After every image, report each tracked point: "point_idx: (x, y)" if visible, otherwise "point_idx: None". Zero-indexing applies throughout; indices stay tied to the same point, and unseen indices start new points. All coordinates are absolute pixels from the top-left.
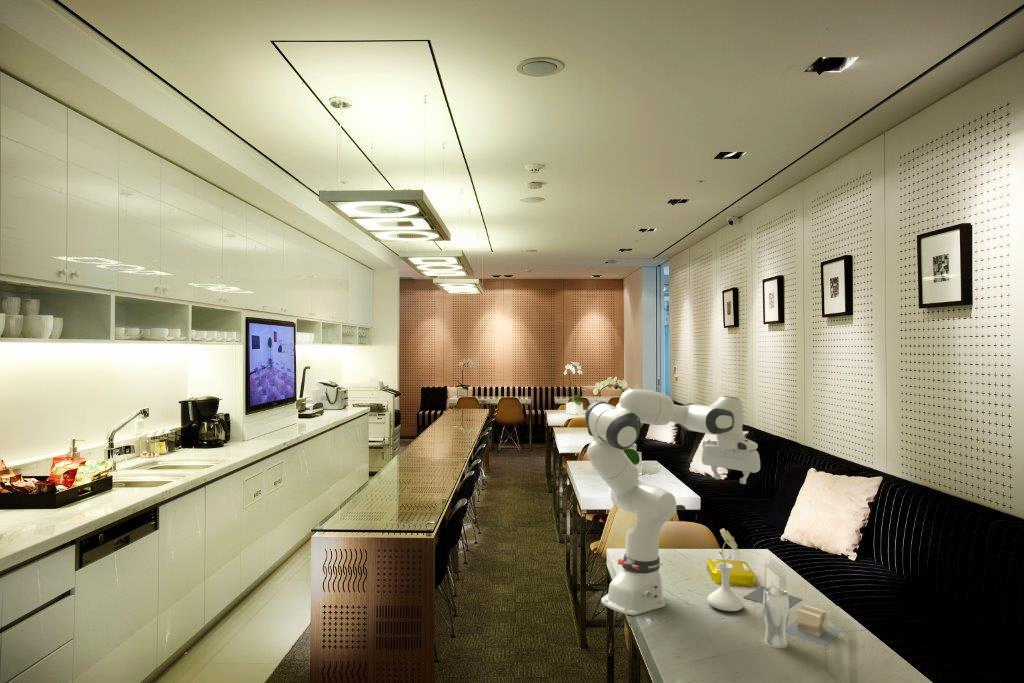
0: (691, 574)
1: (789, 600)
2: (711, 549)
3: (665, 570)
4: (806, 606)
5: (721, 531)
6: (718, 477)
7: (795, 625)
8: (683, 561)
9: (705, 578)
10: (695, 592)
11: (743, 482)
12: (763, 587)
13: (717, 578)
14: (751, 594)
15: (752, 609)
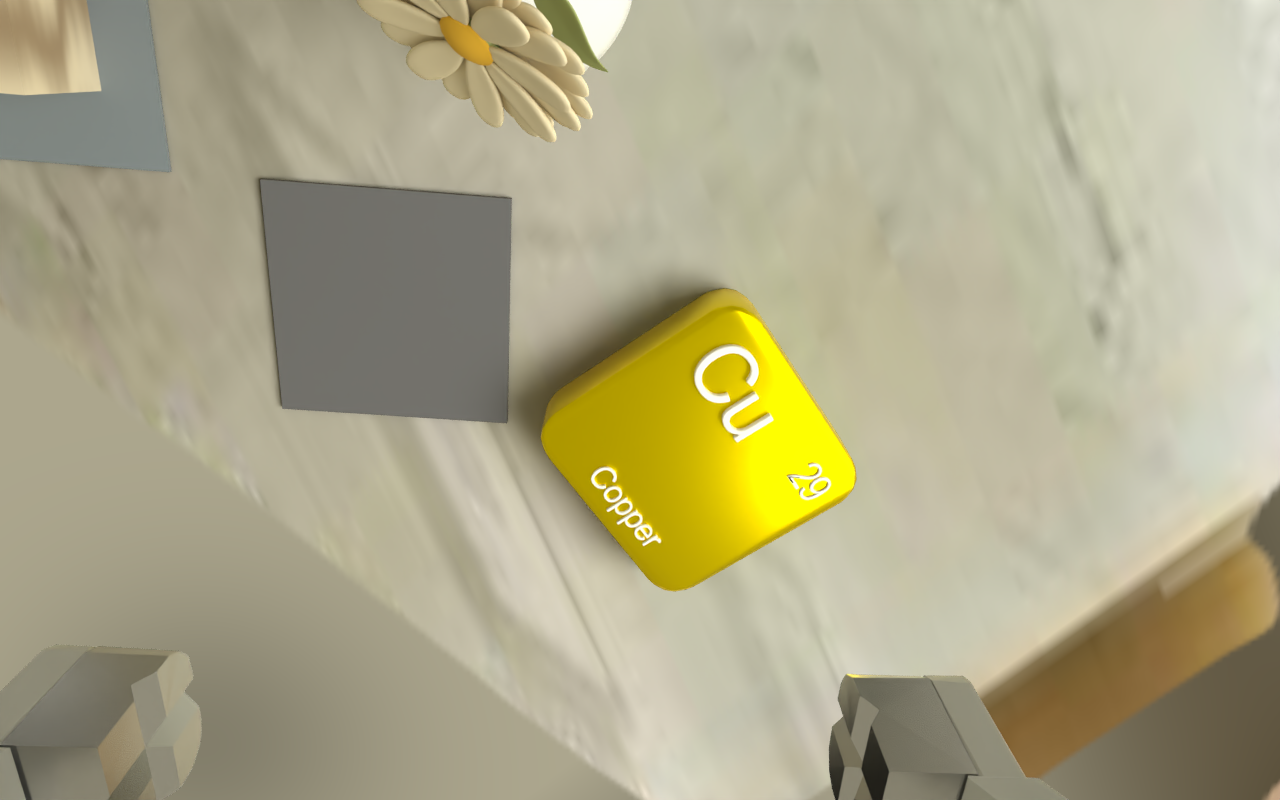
0: (887, 309)
1: (315, 341)
2: None
3: (1045, 250)
4: (3, 66)
5: (551, 36)
6: (858, 727)
7: (121, 21)
8: (998, 461)
9: (796, 311)
10: (759, 50)
11: (34, 663)
12: (492, 412)
13: (714, 298)
14: (494, 269)
15: (397, 68)
